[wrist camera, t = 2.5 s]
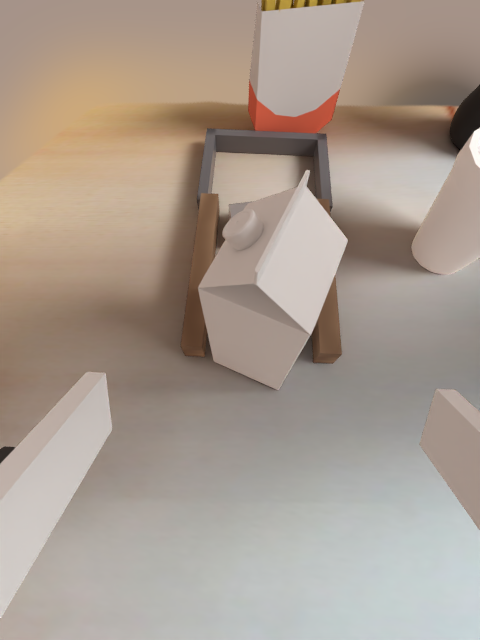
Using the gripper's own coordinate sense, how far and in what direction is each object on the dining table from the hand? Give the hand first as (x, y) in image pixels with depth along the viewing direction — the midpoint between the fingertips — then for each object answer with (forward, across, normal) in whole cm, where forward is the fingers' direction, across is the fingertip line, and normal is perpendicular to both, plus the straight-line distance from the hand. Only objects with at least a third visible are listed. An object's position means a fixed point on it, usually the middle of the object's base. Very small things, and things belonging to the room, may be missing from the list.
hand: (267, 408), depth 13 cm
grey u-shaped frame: (+35, +1, +10) cm, 37 cm away
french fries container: (+43, +4, +17) cm, 46 cm away
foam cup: (+28, +22, +3) cm, 36 cm away
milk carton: (+19, +1, -6) cm, 20 cm away
